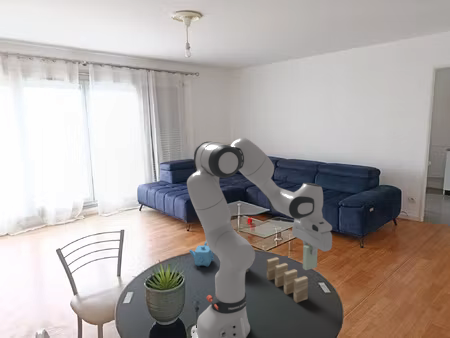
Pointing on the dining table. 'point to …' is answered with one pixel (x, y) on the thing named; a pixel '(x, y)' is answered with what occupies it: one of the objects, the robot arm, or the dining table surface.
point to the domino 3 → (289, 281)
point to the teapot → (202, 255)
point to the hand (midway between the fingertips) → (310, 253)
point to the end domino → (309, 258)
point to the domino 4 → (300, 289)
